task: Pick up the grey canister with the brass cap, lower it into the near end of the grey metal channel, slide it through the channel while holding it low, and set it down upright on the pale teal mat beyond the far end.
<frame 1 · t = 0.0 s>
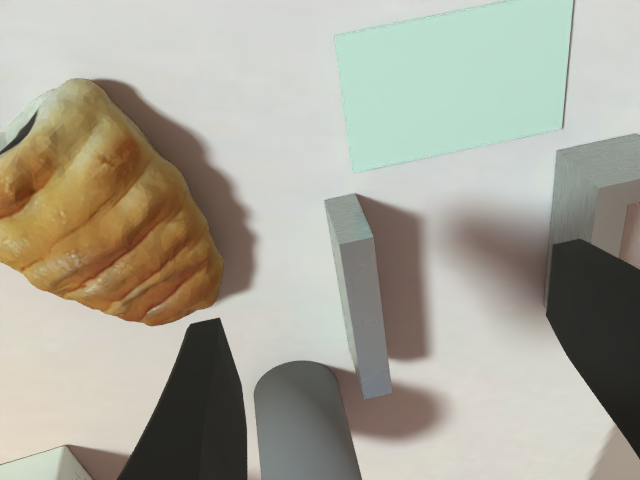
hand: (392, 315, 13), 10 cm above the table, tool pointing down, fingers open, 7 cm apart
grey canister: (296, 391, 29), on the table
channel: (458, 254, 25), on the table
mat: (455, 84, 21), on the table
pastry: (103, 190, 22), on the table
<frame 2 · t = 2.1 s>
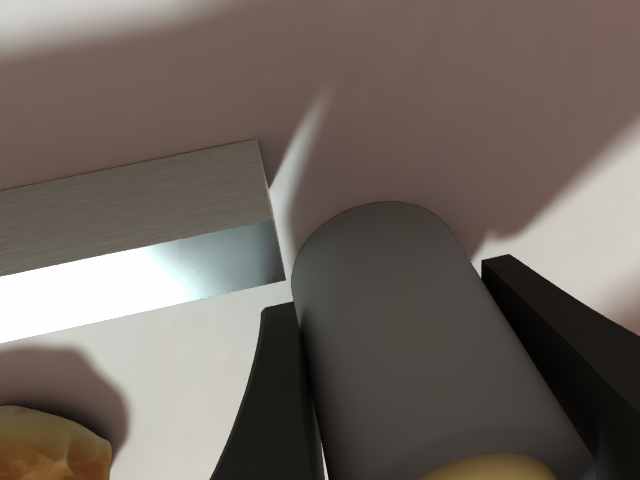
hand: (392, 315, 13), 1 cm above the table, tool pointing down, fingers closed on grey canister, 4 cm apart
grey canister: (376, 276, 14), on the table, touching gripper
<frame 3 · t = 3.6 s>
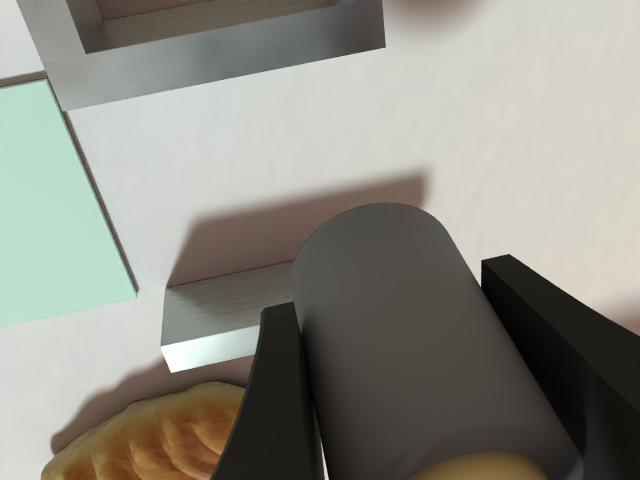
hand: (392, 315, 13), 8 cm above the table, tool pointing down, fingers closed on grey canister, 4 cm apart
grey canister: (373, 274, 14), point 6 cm above the table, touching gripper
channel: (252, 167, 19), on the table
mat: (18, 215, 19), on the table
pastry: (157, 437, 27), on the table
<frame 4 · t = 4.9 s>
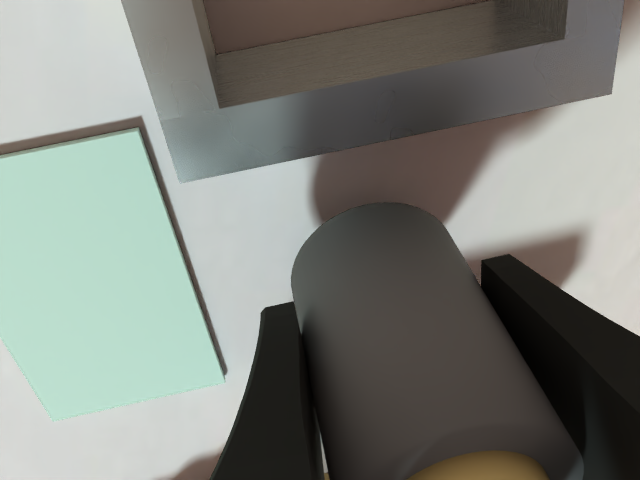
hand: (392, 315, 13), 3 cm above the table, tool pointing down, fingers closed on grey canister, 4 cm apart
grey canister: (374, 274, 14), point 2 cm above the table, touching gripper
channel: (379, 230, 16), on the table
mat: (90, 292, 15), on the table
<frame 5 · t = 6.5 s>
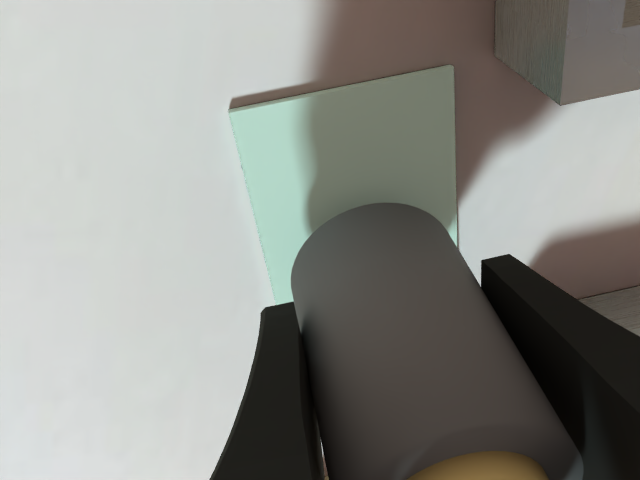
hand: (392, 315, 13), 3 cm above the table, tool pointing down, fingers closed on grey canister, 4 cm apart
grey canister: (373, 274, 14), point 1 cm above the table, touching gripper
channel: (637, 175, 16), on the table
mat: (360, 235, 16), on the table
when the fingers open (2 cm above the table, at t = 7.6 s): grey canister stays where it is, resting on mat.
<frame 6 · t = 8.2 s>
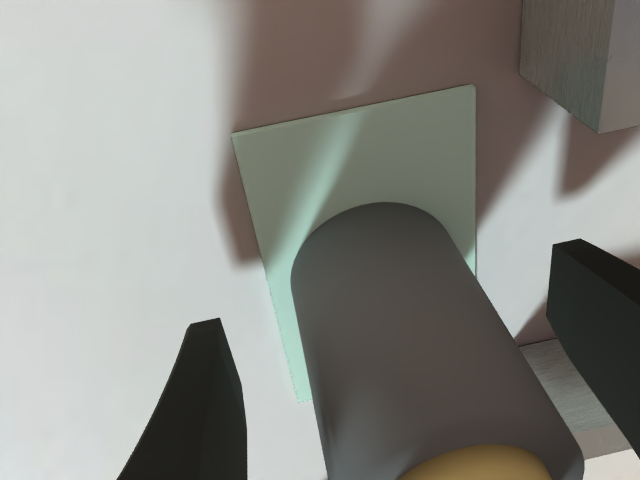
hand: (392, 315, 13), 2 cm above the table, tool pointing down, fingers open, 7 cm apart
grey canister: (373, 274, 14), resting on mat
mat: (371, 264, 15), on the table
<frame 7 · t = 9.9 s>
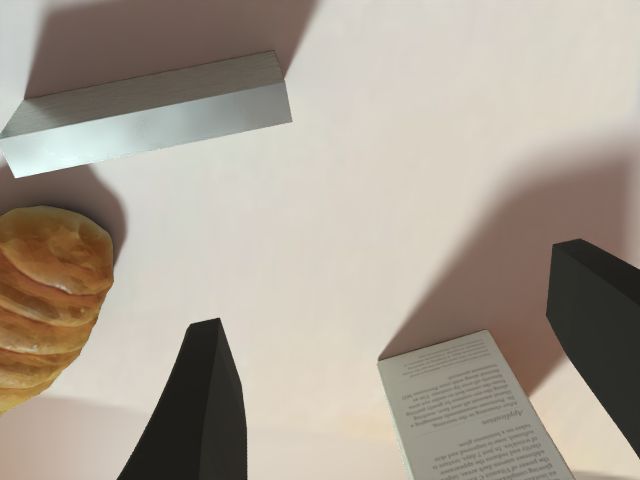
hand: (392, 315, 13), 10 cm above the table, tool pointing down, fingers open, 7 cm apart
small box: (440, 393, 30), on the table
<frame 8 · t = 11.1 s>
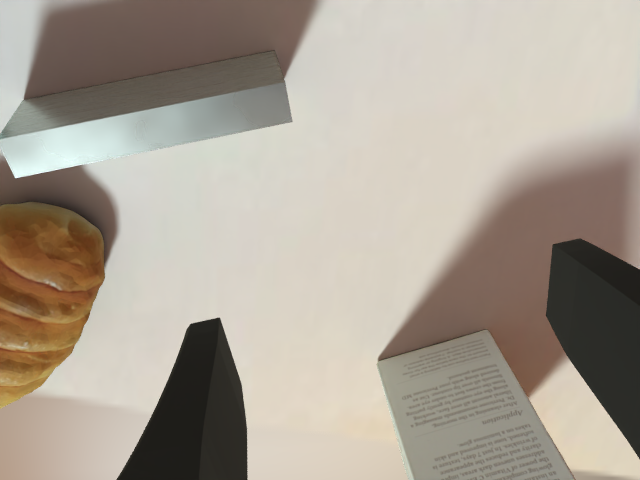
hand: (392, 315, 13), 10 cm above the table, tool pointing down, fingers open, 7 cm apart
small box: (440, 393, 30), on the table
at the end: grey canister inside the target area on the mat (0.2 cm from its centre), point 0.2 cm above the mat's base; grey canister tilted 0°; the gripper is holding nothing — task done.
